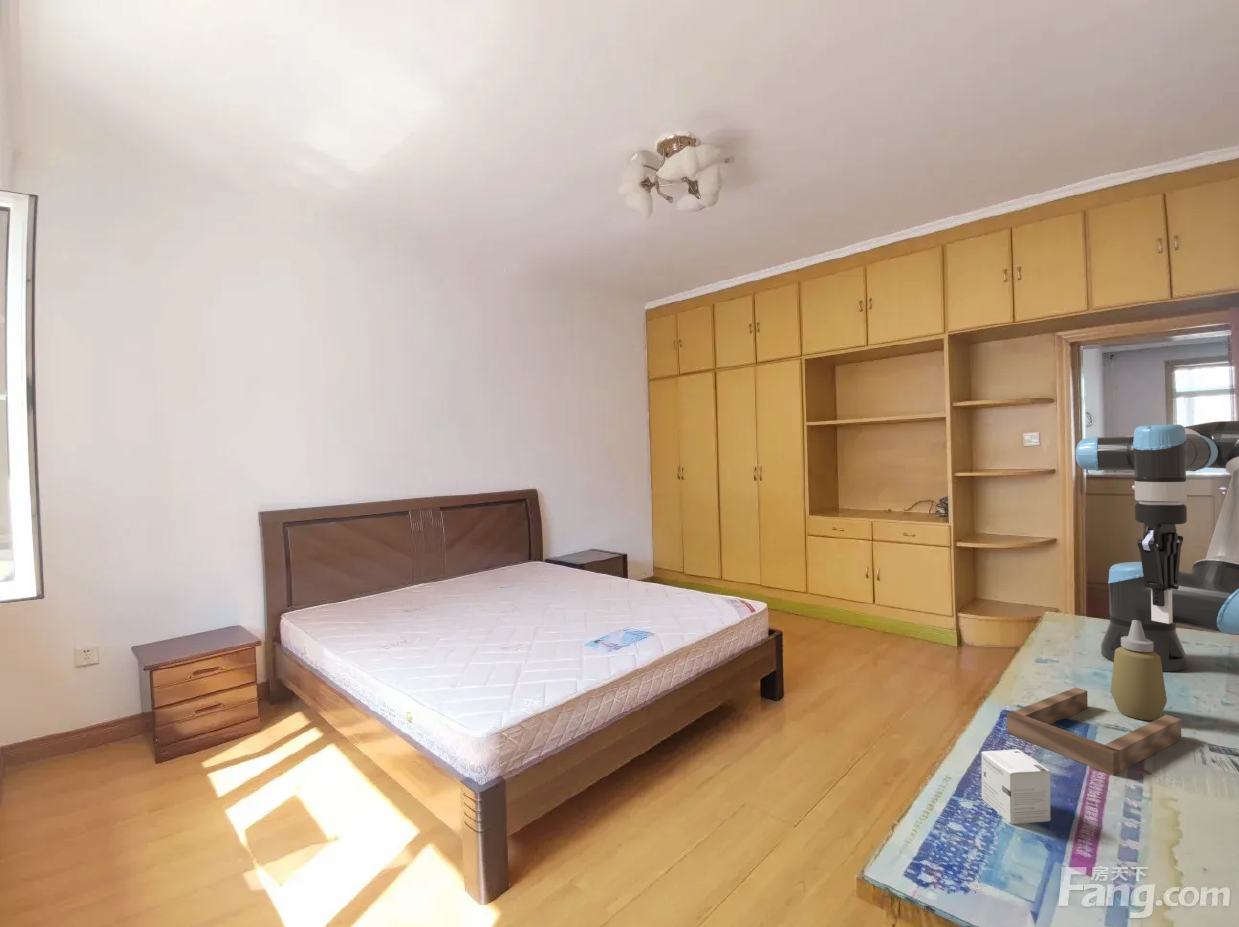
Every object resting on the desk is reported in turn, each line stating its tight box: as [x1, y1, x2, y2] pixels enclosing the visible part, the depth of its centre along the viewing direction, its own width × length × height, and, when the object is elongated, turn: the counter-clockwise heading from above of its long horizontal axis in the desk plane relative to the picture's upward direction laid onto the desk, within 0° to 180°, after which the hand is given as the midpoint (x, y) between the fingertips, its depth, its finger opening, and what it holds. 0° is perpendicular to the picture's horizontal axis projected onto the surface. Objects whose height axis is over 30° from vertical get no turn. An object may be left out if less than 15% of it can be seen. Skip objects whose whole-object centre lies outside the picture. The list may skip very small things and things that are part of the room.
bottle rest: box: [1006, 686, 1182, 776], centre depth 103 cm, size 23×16×4 cm
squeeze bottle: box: [1110, 620, 1168, 721], centre depth 110 cm, size 8×8×18 cm
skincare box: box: [980, 748, 1051, 825], centre depth 83 cm, size 6×6×7 cm
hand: (1161, 621), depth 114 cm, fingers closed
